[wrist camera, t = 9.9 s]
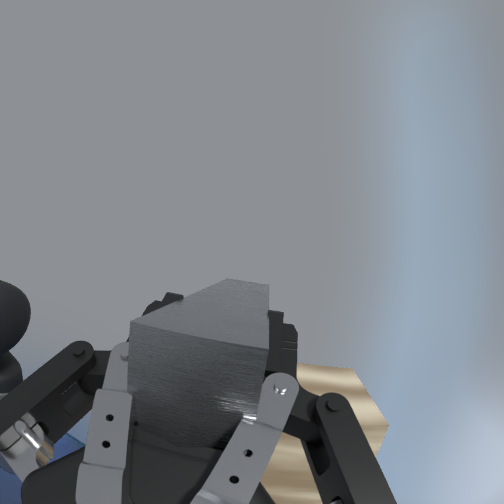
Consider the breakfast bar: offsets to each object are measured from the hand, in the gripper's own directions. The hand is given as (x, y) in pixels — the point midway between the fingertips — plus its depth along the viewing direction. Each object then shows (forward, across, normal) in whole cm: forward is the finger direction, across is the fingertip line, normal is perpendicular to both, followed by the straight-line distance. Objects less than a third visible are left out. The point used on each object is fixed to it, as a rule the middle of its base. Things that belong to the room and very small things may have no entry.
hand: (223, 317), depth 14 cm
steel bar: (+2, 0, +5) cm, 6 cm away
